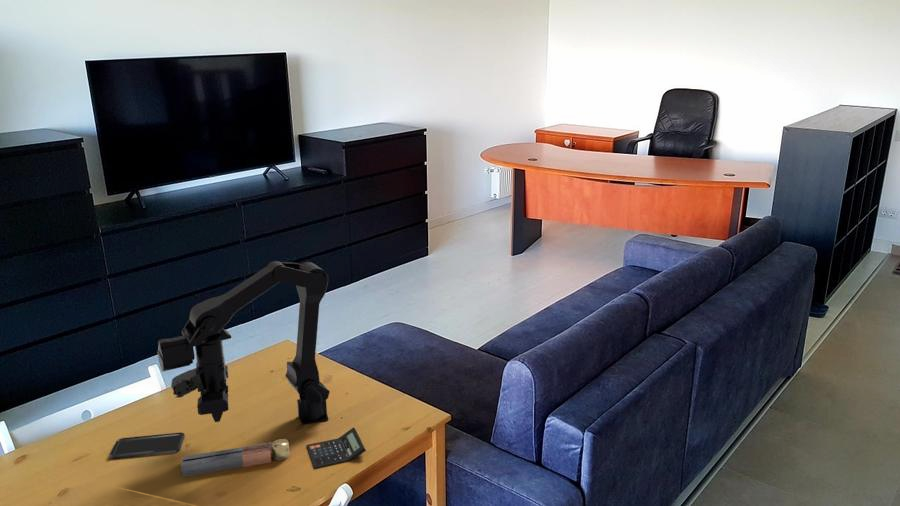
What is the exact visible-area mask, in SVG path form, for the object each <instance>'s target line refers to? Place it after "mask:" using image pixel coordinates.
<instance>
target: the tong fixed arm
mask: <svg viewBox="0 0 900 506" xmlns="http://www.w3.org/2000/svg"><path fill="white" fill-rule="evenodd" d="M268 463H270V464H271V463H272V457H271V452H270V447H268V448H262V449H256V450H250V451H244V452H239V453H233V454H227V455H221V456H215V457H209V458H203V459H197V460H191V461H185V462H183V461H181V462H180V468H181V469H180V470H181V476H182V478H187V477H191V476H197V475H204V474H208V473H215V472H220V471H226V470H232V469H237V468H245V467H253V466H259V465H263V464H268Z"/></svg>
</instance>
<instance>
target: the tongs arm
mask: <svg viewBox="0 0 900 506" xmlns="http://www.w3.org/2000/svg"><path fill="white" fill-rule="evenodd" d="M268 447H270V452H271V458H273V460H275V461H284V460H287V459H288V458H289V457H290V456H291V455H290V443H289V440H288V439H286V438H279V439H276V440H274V441H273V442H271V441H270V442H264V443H259V444H252V445H251V444H250V445H246V446H245V445H244V446H241V447H235V448H229V449H222V450H217V451H210V452H204V453H198V454H191V455H190V454H189V455H185V456H183V458H182V462H185V461H191V460H197V459H203V458H209V457H215V456H221V455H227V454H233V453H239V452H244V451H250V450H256V449H262V448H268Z"/></svg>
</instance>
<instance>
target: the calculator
mask: <svg viewBox="0 0 900 506" xmlns="http://www.w3.org/2000/svg"><path fill="white" fill-rule="evenodd" d="M306 448H307V451H308V454H309V456H310V457H309V458H310V459H311V462H312V466H313V468H314V469H320V468H324V467H329V466H333V465H339V464H343V463H347V462H352V461H353V460H355V459H357V458H358V457H359V456H361V455H362V454H364V452H365V453H366V452H367V450H366V447H365V446H364V444H363V441H362V440H361V438H360V436H359V433H358V432H357V430H356V428H355V427H354V426H353V427H352V428H350V429H349V430H348V431H346V432H345V433H344V434H342V435H341V436H339V437H337V438H334V439H329V440H323V441H318V442H314V443H309V444H306Z"/></svg>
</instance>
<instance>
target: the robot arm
mask: <svg viewBox="0 0 900 506" xmlns="http://www.w3.org/2000/svg"><path fill="white" fill-rule="evenodd" d="M279 283H286V284H290V285H293V286H296V291H297V294H298V298H299V309H298V321H297V322H298V323H297V324H298V325H297V334H296V335H297V337H296V350H295V351H296V353H295V356H294V359H293V360H292V361H287V362H286V374H285V375H284V376H285V378H286V379H287V381H288V383H289V384H290V386H291V387H292V388H293V389H294V390H295V391H296V392H297V394H298V399H297V400H296V404H297V406H296V407H297V416H298V419H299V420H300V422H301V425H309V424H316V423H323V422H328V421H329V417H328V410H327V409H328V408H327V406H328V405H327V400H328V399H329V396H330V389H328V388H327V387H326V386H325V385H324V384H323V383H322V382H321V380H320V372H319V368H318V365H317V362H316V352H317V340H318V329H319V327H318V325H319V313H320V312H319V311H320V304H321V302H322V299H323V298H324V297H325V295H326V293H327V292H326V291H327V288H328V284H329V274H328V273H327V272H326V271H325V270H324V269H322V268H321V267H319V266H318V265H316V263H313V262H311V261H306V262H303V263H297V262H284V261H283V262H282V261H277V260H273V261H270V262H269V263H268V264H267V266H266V267H263V268H262V269H261V270H259V271H257V272H256V273H255V274H252V276H250V277H249V278H247V279H245V280H243V281H242V282H241V283H239V284H238V285H236V286H235V287H234V288H231V290H228V291H227V292H226V293H224V294H221V295H219V296H214V297H210V298H208V299H206V300H203V301H201V302H199V303H197V304H195V305H193V307H192V308H191V309H190V313H189V319H188V321H187V322H186V323H185V325H184V327H183V328H182V330H181V334H182V335H179V336H176V337H175V336H174V337H172V338H171V337H170V338H161V339H158V341H157V342H158V345H157V357H158V363H159V367H160V369H161V371H162V372H167V371H172V370H176V369H180V368H184V367H189V366H191V364H193V363H194V360H195V357H196V364H195V366H196V368H195V367H194V368H192V369H188V370H186V371H184V372H182V373H180V374H178V375H175V376H174V377H173V378H172V379H171V385H170V387H171V388H172V390H173V391H172V392H173V395H174V396H177V398H178V399H180V398H182V397H184V396H185V395H188V394H190V393H192V392H194V391H196V390H197V393H199V395H200V396H199V397H198V398H197V406H196V408H197V414H198V415H200V416H203V415H204V416H205V415H211V417H212V418H213V421H214V423H220V421H221V419H222V416H223V414H224V412H225V413H226V412H227V411H229V408H230V407H229V385H228V384H227V379H229V369H228V368H229V367H228V365H226V363H225V362H226V360H225V355H224V347H223V346H224V345H223V341H226V340H229V339H231V338H232V334H230V332H229V331H228V330H227V329H225V328H224V327H225V326H226V325H227V324H228V323H229V322H230V321H231V319H232V317H234V315H235V314H236V313H237V312H238V311H239V310H241V309H242V308H244V307H245V306H246V305H248V304H250V303H251V302H253V301H255V300H256V299H257V298H259V297H260V296H262V295H263V294H265V293H266V292H267V291H269V290H270V289H272V288H273V287H275V286H276V285H278V284H279ZM194 349H195V350H194Z"/></svg>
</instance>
